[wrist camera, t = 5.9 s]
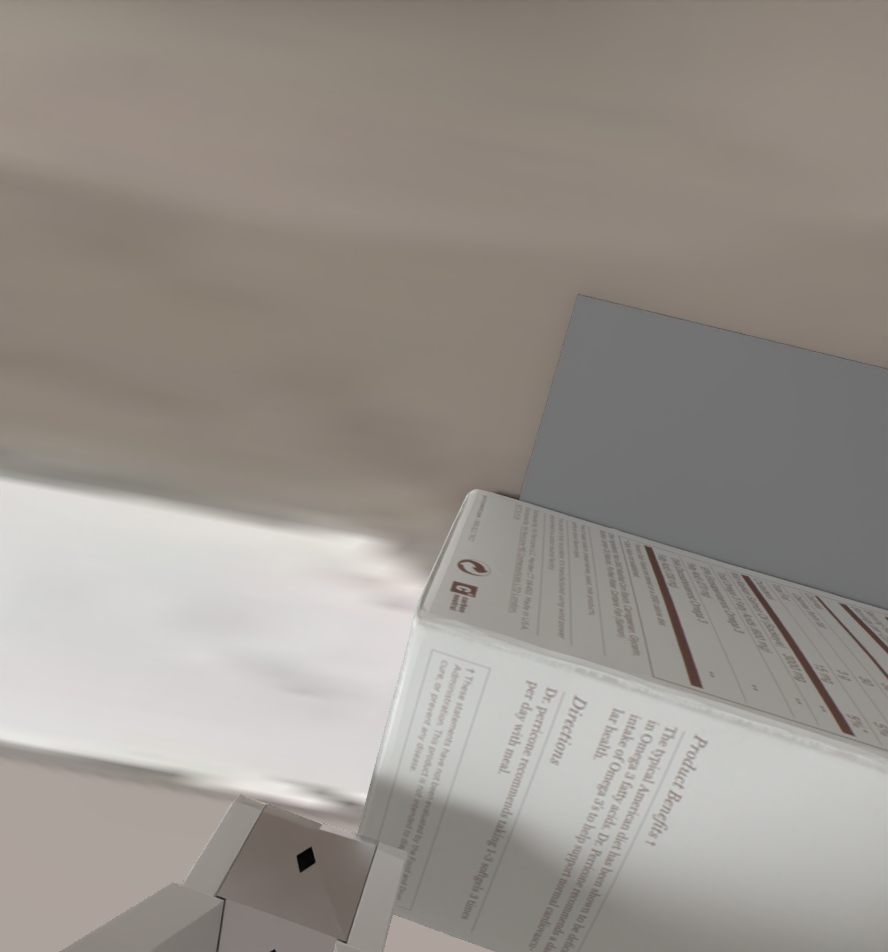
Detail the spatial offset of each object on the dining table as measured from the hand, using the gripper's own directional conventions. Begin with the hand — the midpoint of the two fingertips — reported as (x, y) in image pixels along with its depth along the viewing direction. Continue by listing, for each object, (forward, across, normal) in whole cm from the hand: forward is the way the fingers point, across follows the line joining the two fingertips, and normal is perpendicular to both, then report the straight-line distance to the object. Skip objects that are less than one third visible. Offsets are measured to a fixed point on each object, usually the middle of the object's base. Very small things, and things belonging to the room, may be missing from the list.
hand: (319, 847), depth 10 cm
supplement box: (+5, 0, 0) cm, 5 cm away
